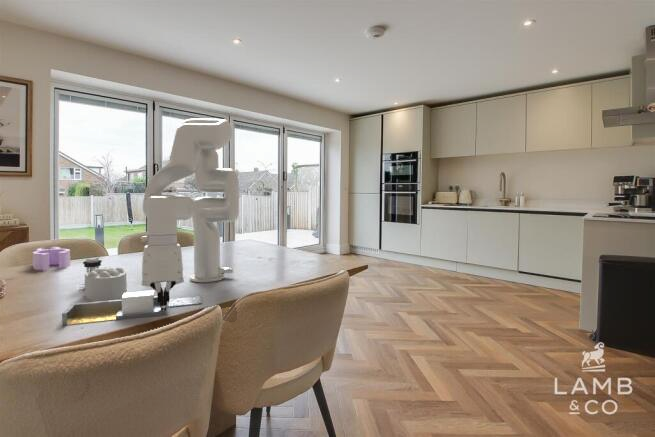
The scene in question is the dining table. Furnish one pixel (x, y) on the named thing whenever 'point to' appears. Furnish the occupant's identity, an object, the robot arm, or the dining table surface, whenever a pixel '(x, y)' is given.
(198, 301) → the tab
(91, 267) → the push button
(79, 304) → the rail
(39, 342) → the dining table surface
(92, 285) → the lumpy-topped squat cylinder
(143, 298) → the clip block
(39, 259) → the purple lobed block
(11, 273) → the dining table surface
